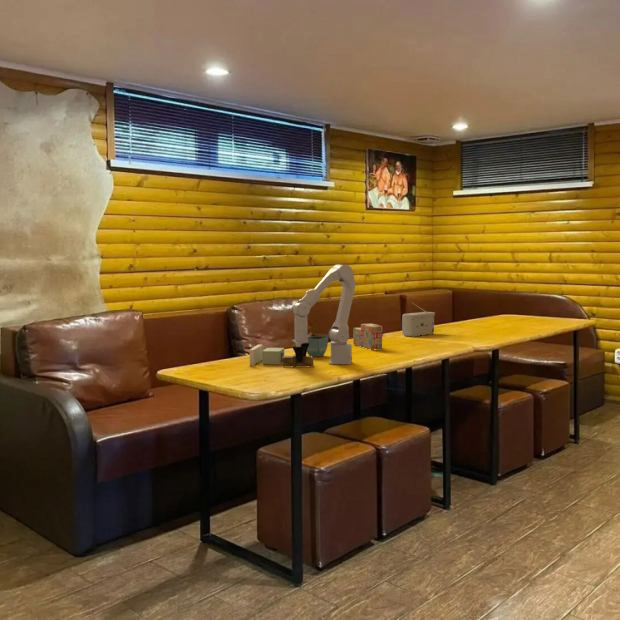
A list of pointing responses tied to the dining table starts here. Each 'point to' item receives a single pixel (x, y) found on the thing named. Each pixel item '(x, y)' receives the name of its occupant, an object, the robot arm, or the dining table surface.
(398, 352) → the dining table surface
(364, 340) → the stack of blocks
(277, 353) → the block
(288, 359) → the brown collared bar
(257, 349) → the wall
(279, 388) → the dining table surface
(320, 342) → the flower pot
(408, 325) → the stereo radio cassette player
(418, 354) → the dining table surface
